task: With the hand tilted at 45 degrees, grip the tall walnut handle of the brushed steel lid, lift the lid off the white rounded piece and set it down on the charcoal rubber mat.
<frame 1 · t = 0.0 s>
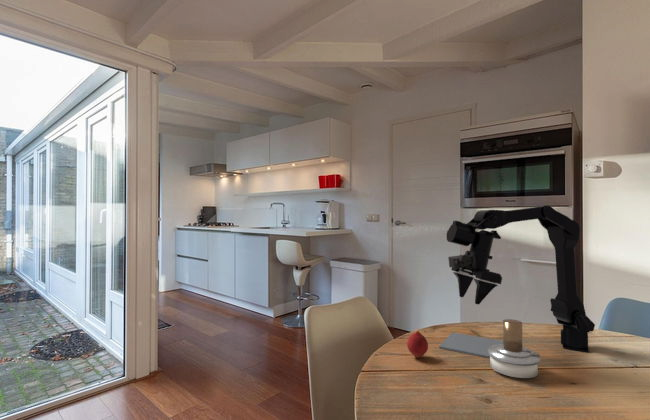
hand: (468, 300, 105), 15 cm above the table, tool pointing down, fingers open, 9 cm apart
lid: (513, 356, 91), point 4 cm above the table, touching white rounded piece
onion: (417, 358, 101), on the table
white rounded piece: (513, 371, 91), on the table
mat: (472, 345, 110), on the table
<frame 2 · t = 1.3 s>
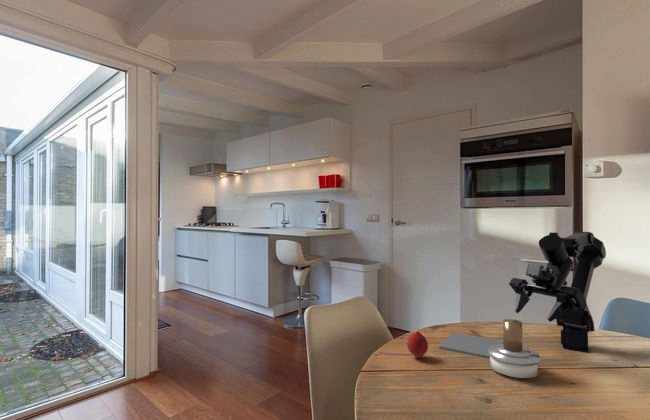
hand: (531, 316, 95), 13 cm above the table, tool tilted 45°, fingers open, 9 cm apart
nothing on the table moved.
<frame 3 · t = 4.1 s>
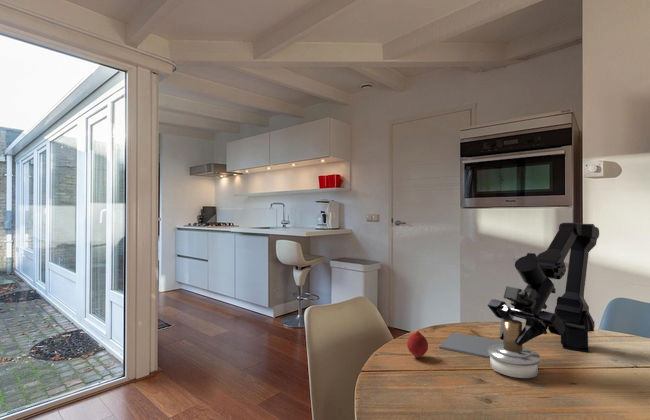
hand: (509, 341, 91), 8 cm above the table, tool tilted 45°, fingers closed on lid, 4 cm apart
lid: (513, 356, 91), point 4 cm above the table, touching white rounded piece, gripper
everything else where it was.
when the fingers open (6 cm above the table, at t = 8.3 s): lid drops 2 cm, resting on mat.
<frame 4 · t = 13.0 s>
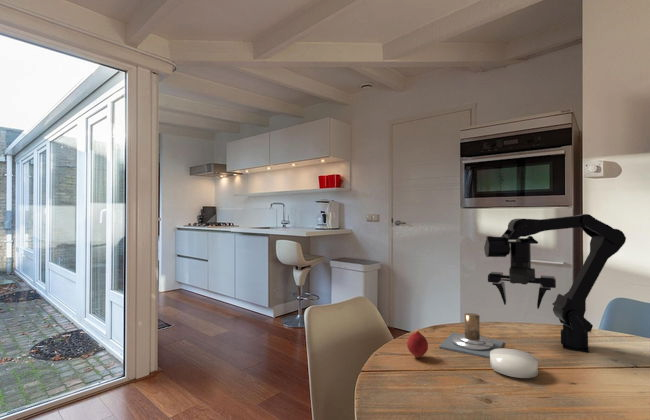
hand: (521, 306, 111), 12 cm above the table, tool pointing down, fingers open, 9 cm apart
lid: (472, 343, 110), point 1 cm above the table, touching mat
everything else where it was.
at the end: lid inside the target area on the mat (0.1 cm from its centre), point 0.6 cm above the mat's base; lid tilted 0°; the gripper is holding nothing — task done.
